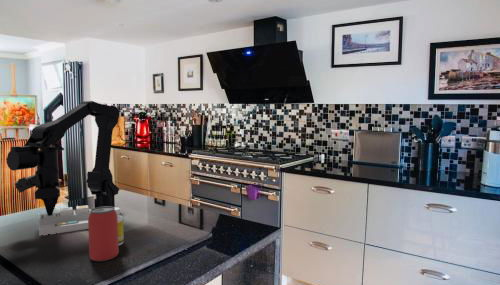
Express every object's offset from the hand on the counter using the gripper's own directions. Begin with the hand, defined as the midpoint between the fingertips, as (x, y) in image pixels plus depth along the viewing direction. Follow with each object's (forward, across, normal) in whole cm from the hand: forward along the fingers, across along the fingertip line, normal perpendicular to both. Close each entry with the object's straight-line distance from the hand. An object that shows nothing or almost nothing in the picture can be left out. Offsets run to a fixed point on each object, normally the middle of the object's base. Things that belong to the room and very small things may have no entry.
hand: (49, 215), depth 104 cm
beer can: (+4, +33, +12) cm, 36 cm away
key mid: (+1, 0, +5) cm, 5 cm away
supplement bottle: (+4, +25, +15) cm, 30 cm away
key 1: (+2, 0, 0) cm, 2 cm away
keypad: (+4, 0, +5) cm, 6 cm away
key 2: (+1, 0, +9) cm, 9 cm away
